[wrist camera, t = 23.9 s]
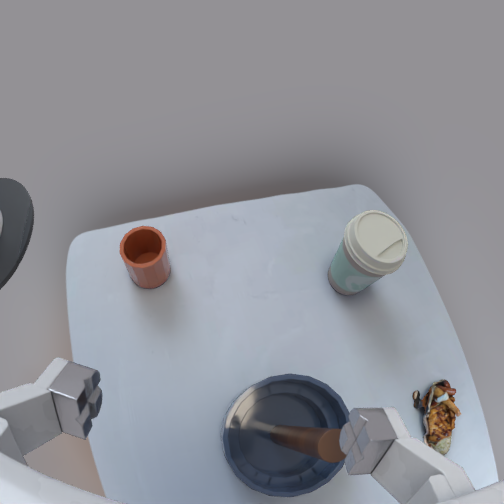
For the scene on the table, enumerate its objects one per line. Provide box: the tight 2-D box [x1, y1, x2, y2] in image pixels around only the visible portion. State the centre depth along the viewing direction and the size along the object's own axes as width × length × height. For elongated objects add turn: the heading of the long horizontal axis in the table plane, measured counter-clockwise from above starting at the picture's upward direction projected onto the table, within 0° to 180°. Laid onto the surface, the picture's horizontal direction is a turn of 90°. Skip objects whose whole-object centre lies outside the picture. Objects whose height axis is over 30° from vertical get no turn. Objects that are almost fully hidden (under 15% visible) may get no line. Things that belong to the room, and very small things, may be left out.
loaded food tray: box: [413, 380, 461, 455], centre depth 35 cm, size 7×12×4 cm, turn 13°
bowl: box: [221, 374, 350, 497], centre depth 32 cm, size 14×14×6 cm
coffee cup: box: [328, 210, 408, 295], centre depth 42 cm, size 9×9×12 cm
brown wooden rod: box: [270, 425, 347, 463], centre depth 27 cm, size 3×3×18 cm
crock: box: [120, 226, 170, 289], centre depth 41 cm, size 6×6×6 cm
